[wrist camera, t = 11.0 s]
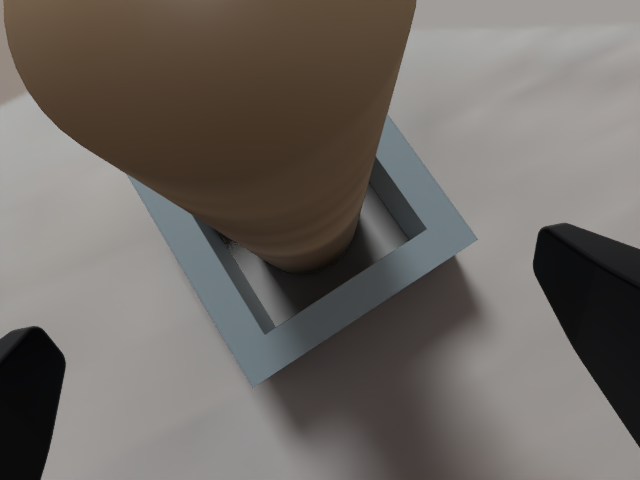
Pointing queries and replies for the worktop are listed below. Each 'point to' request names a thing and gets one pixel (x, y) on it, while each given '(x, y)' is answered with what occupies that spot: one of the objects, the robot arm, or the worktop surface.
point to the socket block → (343, 302)
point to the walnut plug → (226, 105)
